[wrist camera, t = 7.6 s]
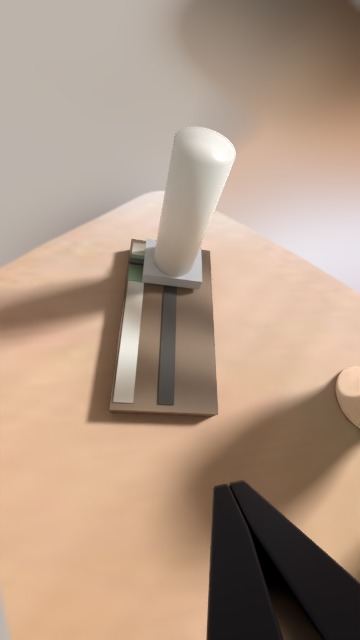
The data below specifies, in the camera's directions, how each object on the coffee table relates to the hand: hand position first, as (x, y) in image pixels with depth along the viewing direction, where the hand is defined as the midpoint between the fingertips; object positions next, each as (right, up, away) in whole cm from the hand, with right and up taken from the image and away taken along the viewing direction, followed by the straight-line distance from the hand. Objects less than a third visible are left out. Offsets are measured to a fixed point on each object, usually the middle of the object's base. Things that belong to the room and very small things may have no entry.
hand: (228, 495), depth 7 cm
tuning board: (-3, +4, +17) cm, 18 cm away
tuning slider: (-2, +9, +18) cm, 20 cm away
